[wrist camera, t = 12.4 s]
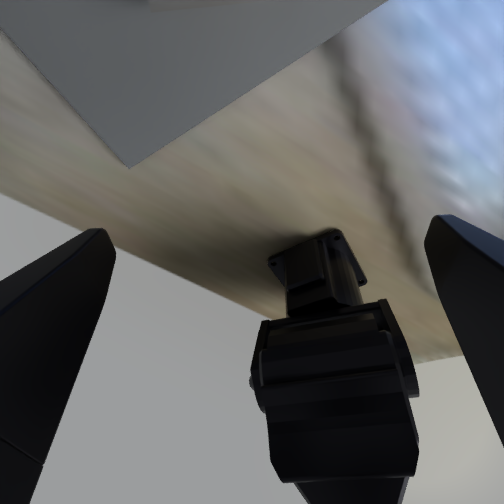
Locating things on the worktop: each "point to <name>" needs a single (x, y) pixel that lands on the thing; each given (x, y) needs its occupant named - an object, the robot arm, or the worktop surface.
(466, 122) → the worktop surface
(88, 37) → the mat
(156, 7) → the tan wooden block
